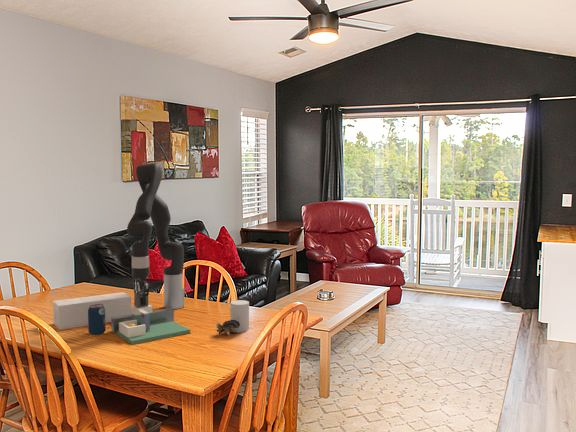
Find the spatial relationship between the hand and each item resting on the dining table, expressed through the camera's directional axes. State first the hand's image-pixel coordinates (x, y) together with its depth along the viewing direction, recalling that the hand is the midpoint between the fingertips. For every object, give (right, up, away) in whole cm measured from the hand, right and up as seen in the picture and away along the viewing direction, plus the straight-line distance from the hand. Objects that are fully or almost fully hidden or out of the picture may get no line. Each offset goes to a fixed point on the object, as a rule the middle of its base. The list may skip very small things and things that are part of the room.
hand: (141, 304), depth 244 cm
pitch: (+8, -11, -9) cm, 17 cm away
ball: (0, -8, -14) cm, 16 cm away
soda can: (-16, -11, -9) cm, 22 cm away
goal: (0, -10, -13) cm, 17 cm away
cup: (+44, -11, -2) cm, 45 cm away
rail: (+1, -10, +1) cm, 10 cm away
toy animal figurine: (+39, -12, -9) cm, 42 cm away
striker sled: (+3, -9, -3) cm, 10 cm away
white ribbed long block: (-25, -10, +9) cm, 28 cm away
